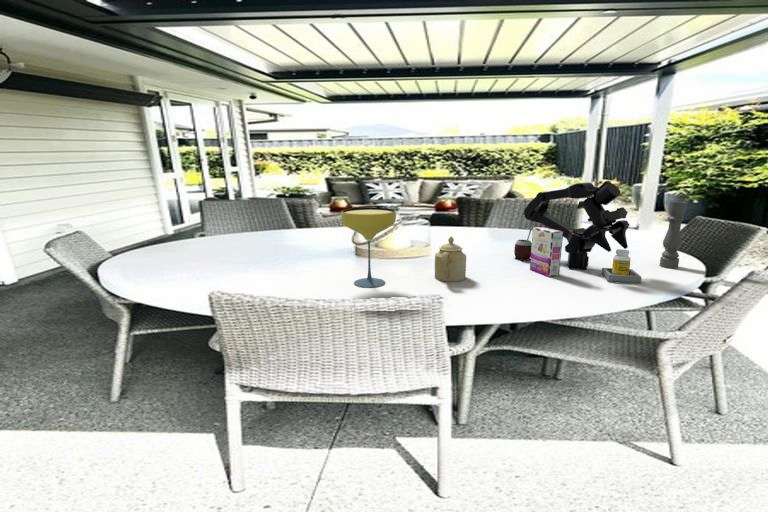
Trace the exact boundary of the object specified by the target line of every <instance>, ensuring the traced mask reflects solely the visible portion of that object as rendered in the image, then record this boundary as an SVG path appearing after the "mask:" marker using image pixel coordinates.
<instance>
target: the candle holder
mask: <svg viewBox="0 0 768 512" xmlns="http://www.w3.org/2000/svg"><path fill="white" fill-rule="evenodd" d="M687 207H688V202H687V201H679V200H678V201H677V200H672V201H671V200H670V201H669V203H668V214H669V217H667V220H668V222H669V223H668V229H667V231H666V233H665V236H664V238H663V241H662V246H663V247H664V251H663V252H662V253H661V257H660V259H659V267H660V266H661V268H663V267H664V269H670V270H671V269H672V270H673V269H679V263H680V258H679V257H680V254H679V252H678V251H679V249H680V248H681V247H682V244H683V242H682V241H683V240H682V236H681V235H682V234H681V227H682V223H683V222H684V220H685V218H684V214H686V211H687Z"/></svg>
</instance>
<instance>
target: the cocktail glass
mask: <svg viewBox="0 0 768 512" xmlns="http://www.w3.org/2000/svg"><path fill="white" fill-rule="evenodd" d="M340 216H341V217H340V218H341V222H342V224H343V225H344V226H345V227H346V228H348V229H350V230H352V231H354V232H356V233H358V234H359V235H362V237H363V238H364V239H365V241H367V247H368V248H367V252H368V254H367V257H368V258H367V259H368V260H367V261H368V262H367V263H368V266H367V267H368V269H367V277H366V278H365V277H364V278H359V279H355V281H354V282H353V285H354V286H356V287H359V288H364V289H365V288H366V289H370V288H371V289H374V288H375V289H376V288H380V287H383V286H384V285H385V284H386V281H385V280H384V279H381V278H377V277H376V278H375V277H372V272H371V241H373V240H374V238H375V237H376V235H378V234H379V233H381V232H383V231H386V230H388V229H389V228H390V227H392V226H393V225H394V224H395V222H396V219H397V212H396V210H395V209H392V208H388V207H387V208H386V207H367V206H366V207H354V208H353V207H352V208H347V209H346V208H345V209H343V210H341V215H340Z"/></svg>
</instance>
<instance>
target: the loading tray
mask: <svg viewBox="0 0 768 512" xmlns="http://www.w3.org/2000/svg"><path fill="white" fill-rule="evenodd" d="M601 274H602V275H603V276H602V275H601ZM600 275H601V276H602V277H603V278H604V279H605V280H606V281H607V283H616V282H619V283H622V284H637V285H641V284H642V275H640V274H639V273H638V272H636V271H635V270H634V269H633V268H630V269H629V275H612V267H602V268H601V273H600Z"/></svg>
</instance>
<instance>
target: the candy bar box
mask: <svg viewBox="0 0 768 512" xmlns="http://www.w3.org/2000/svg"><path fill="white" fill-rule="evenodd" d="M531 235H532V236H531V243H532V247H531V257H530V260H529V261H530V262H529V270H530V271H532V272H535V273H537V274H540V275H543V276H545V277H548V278H549V277H559V276H560V271H561V270H560V269H561V259H562V249H563V247H562V246H563V240H564V237H563V231H558V230H554V229H550V228H548V227H546V226H545V227H543V226H541V227H540V226H539V227H538V226H537V227H533V228H532V233H531Z"/></svg>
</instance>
